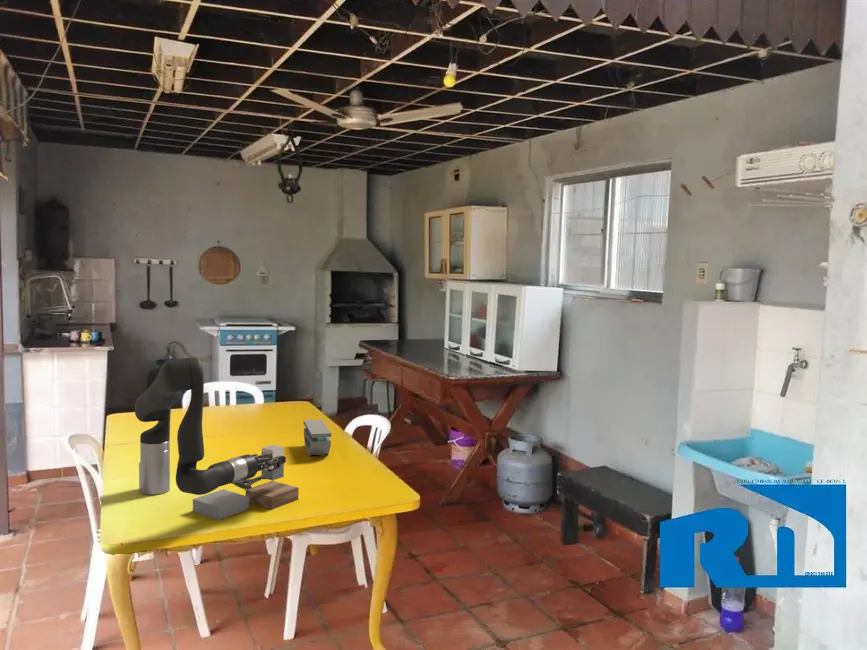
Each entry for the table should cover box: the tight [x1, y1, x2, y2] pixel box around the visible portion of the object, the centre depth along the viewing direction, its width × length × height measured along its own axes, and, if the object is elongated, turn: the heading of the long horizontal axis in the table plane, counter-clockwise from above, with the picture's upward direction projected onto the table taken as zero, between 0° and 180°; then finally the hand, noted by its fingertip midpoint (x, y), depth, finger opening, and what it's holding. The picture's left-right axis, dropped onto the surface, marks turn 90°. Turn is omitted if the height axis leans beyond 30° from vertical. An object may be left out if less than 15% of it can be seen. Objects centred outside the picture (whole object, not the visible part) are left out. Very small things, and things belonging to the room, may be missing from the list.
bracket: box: [233, 474, 266, 490], centre depth 245 cm, size 14×15×3 cm
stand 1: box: [192, 488, 250, 521], centre depth 214 cm, size 12×12×4 cm
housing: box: [261, 444, 285, 481], centre depth 224 cm, size 5×5×10 cm
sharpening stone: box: [303, 419, 332, 457], centre depth 284 cm, size 25×8×11 cm, turn 18°
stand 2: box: [245, 480, 300, 510], centre depth 225 cm, size 12×12×4 cm
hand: (278, 457), depth 226 cm, fingers closed on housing, 5 cm apart
